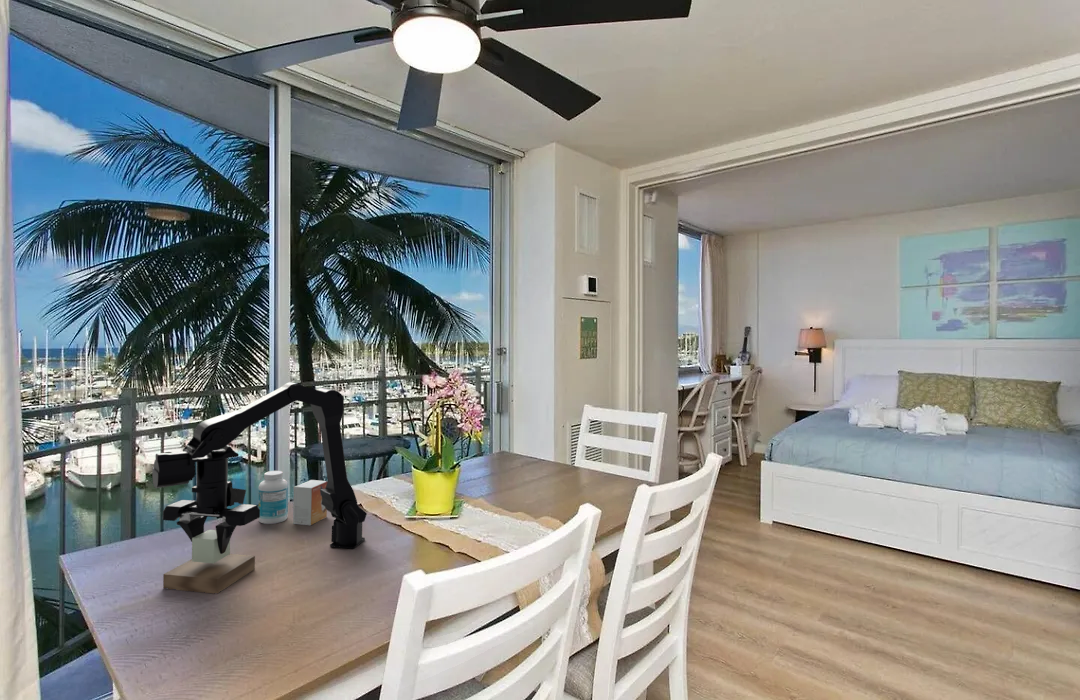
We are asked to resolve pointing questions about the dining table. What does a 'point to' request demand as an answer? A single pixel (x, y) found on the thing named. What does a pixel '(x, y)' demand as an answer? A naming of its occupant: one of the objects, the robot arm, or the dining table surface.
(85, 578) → the dining table surface
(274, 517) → the pill bottle
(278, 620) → the dining table surface
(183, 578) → the walnut plinth
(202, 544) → the sage block
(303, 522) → the small box
